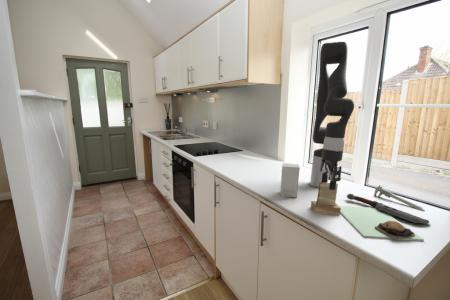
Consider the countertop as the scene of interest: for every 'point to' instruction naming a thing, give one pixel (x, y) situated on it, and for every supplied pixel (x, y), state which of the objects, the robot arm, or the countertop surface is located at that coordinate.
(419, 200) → the countertop surface
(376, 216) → the mat
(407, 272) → the countertop surface
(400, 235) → the bread roll
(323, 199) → the board
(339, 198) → the countertop surface
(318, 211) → the stand
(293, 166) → the skincare box
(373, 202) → the knife
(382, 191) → the caliper
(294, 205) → the countertop surface
